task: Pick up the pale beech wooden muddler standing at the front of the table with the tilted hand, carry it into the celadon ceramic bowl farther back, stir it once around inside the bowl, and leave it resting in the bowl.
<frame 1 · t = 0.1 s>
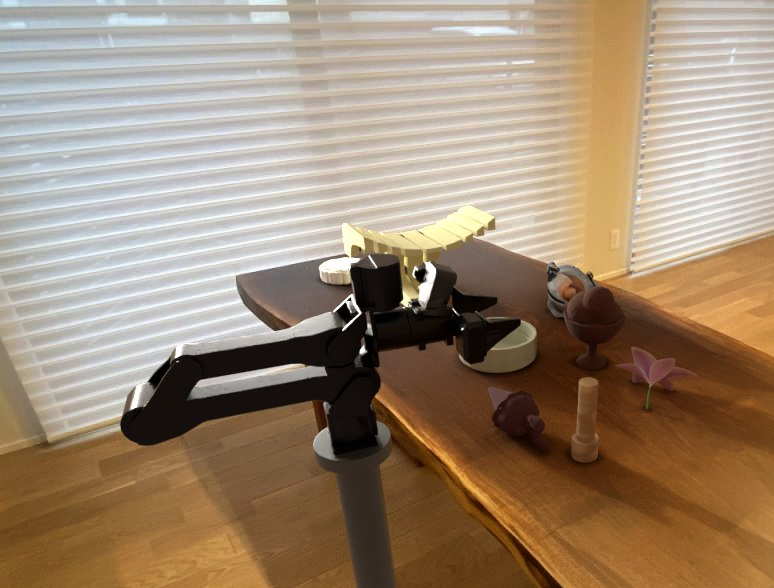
hand: (508, 310, 92), 17 cm above the table, tool horizontal, fingers open, 9 cm apart
lily: (651, 397, 102), on the table
grey pot with food: (576, 315, 133), on the table
bowl: (497, 356, 116), on the table
slatted curved stool: (424, 295, 144), on the table
icecream: (515, 432, 94), on the table
mooncake: (345, 277, 155), on the table
ice cream bowl: (591, 363, 113), on the table
muddler: (584, 454, 88), on the table
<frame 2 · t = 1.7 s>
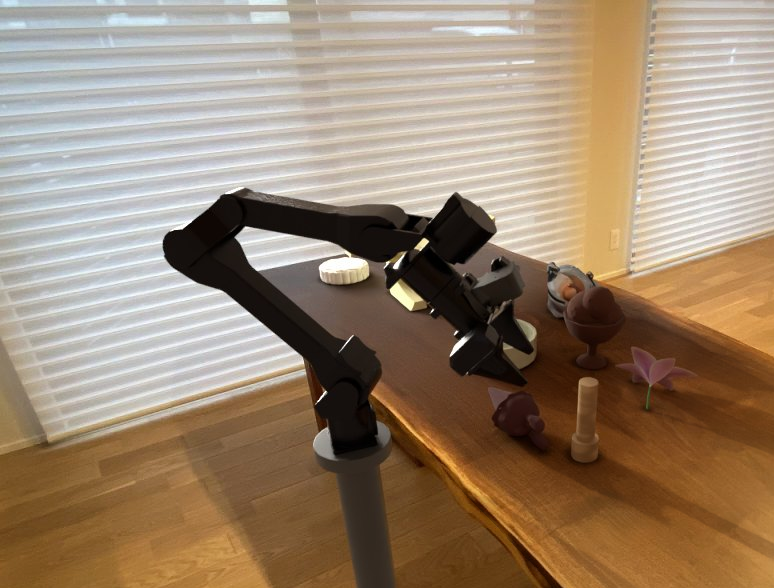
hand: (528, 367, 82), 14 cm above the table, tool tilted 45°, fingers open, 9 cm apart
nothing on the table moved.
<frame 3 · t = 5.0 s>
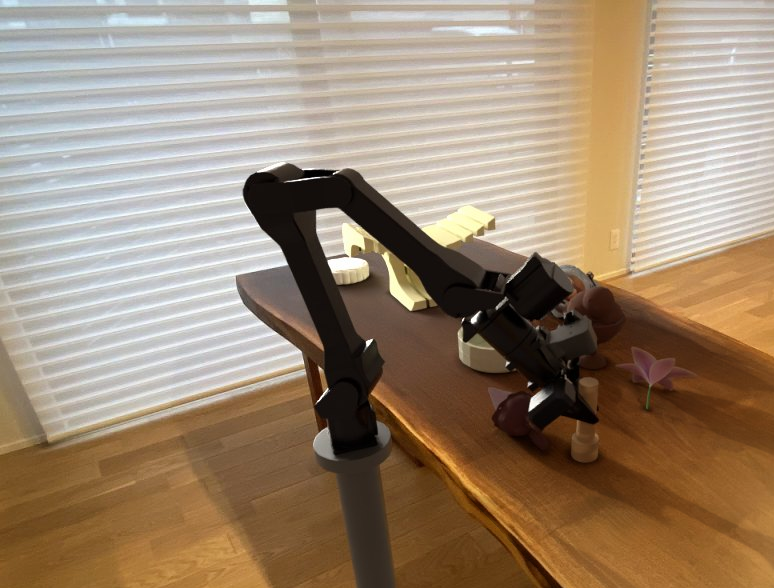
hand: (596, 416, 85), 7 cm above the table, tool tilted 45°, fingers closed on muddler, 2 cm apart
muddler: (584, 454, 88), on the table, touching gripper
everything else where it was.
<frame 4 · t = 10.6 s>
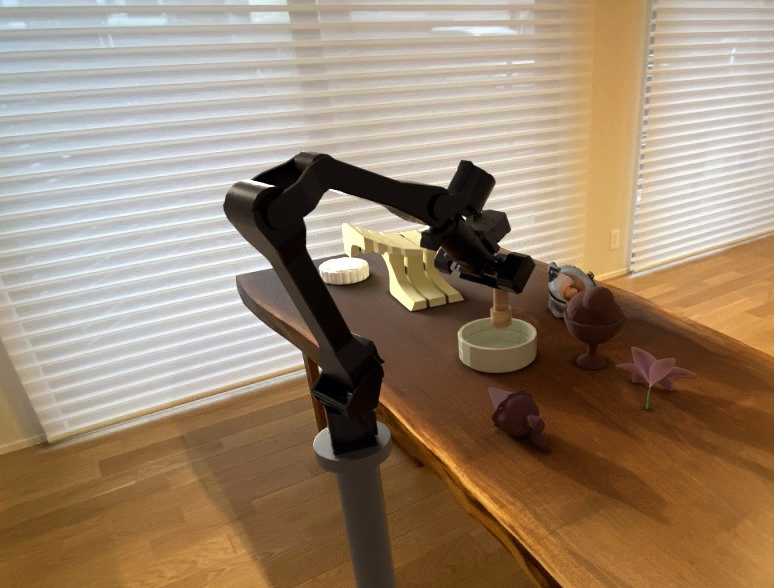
hand: (505, 287, 109), 14 cm above the table, tool tilted 45°, fingers closed on muddler, 2 cm apart
muddler: (501, 324, 112), point 7 cm above the table, touching gripper
everything else where it was.
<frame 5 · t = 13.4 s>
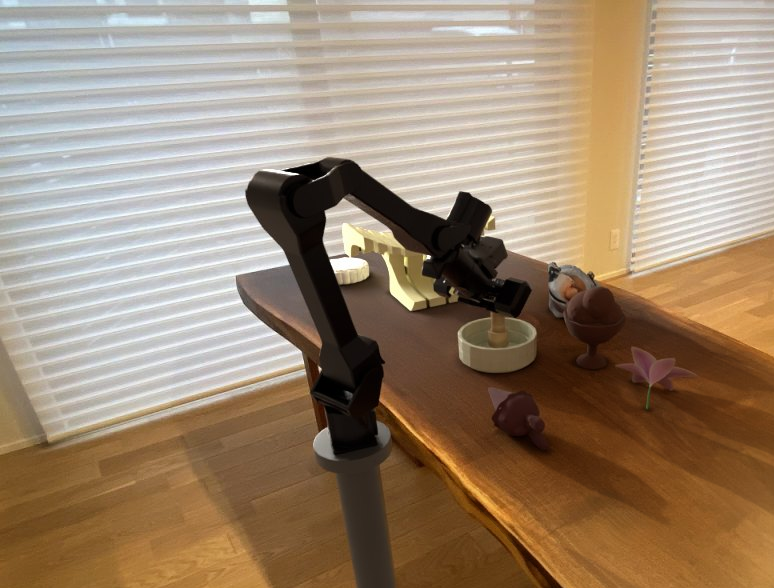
hand: (502, 309, 114), 8 cm above the table, tool tilted 45°, fingers closed on muddler, 2 cm apart
muddler: (498, 344, 116), point 2 cm above the table, touching gripper
everything else where it was.
when the fingers open (7 cm above the table, at t = 16.1 s): muddler stays where it is, resting on bowl.
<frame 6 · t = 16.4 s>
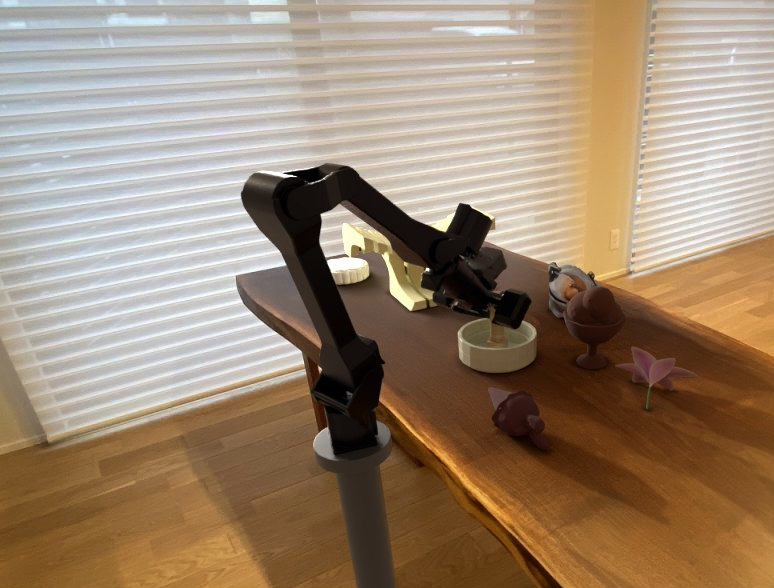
hand: (501, 319, 113), 7 cm above the table, tool tilted 45°, fingers open, 5 cm apart
muddler: (497, 353, 115), point 1 cm above the table, touching bowl
everything else where it was.
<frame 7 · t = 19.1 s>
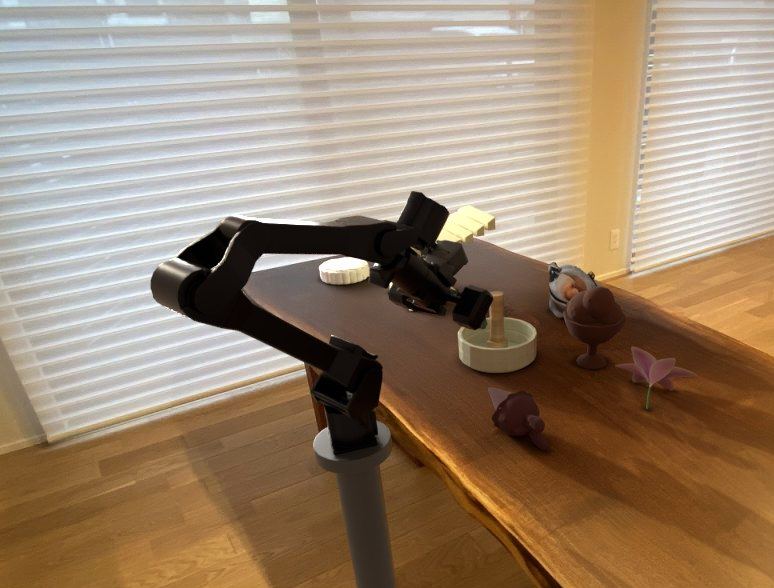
hand: (464, 319, 105), 10 cm above the table, tool tilted 45°, fingers open, 9 cm apart
nothing on the table moved.
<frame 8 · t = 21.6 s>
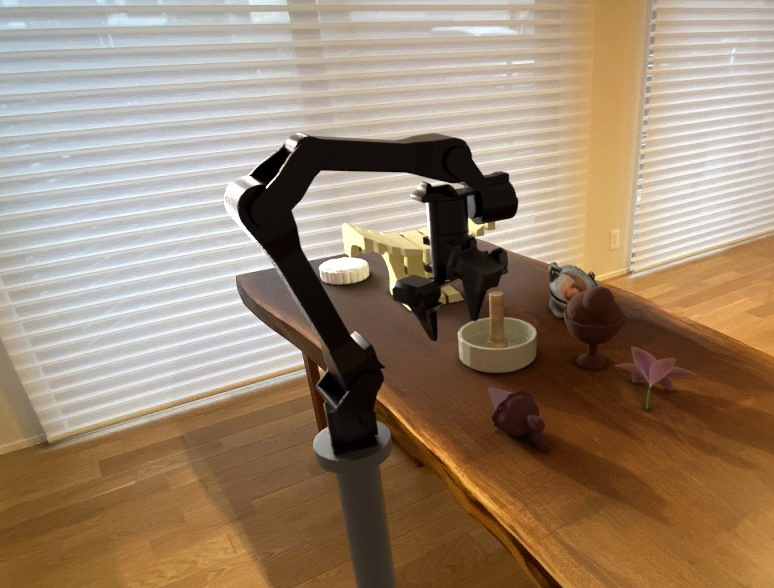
hand: (454, 330, 95), 13 cm above the table, tool pointing down, fingers open, 9 cm apart
nothing on the table moved.
at the end: muddler inside the target area in the bowl (0.0 cm from its centre), point 0.6 cm above the bowl's base; muddler moved 34.0 cm from its start; the gripper is holding nothing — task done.
